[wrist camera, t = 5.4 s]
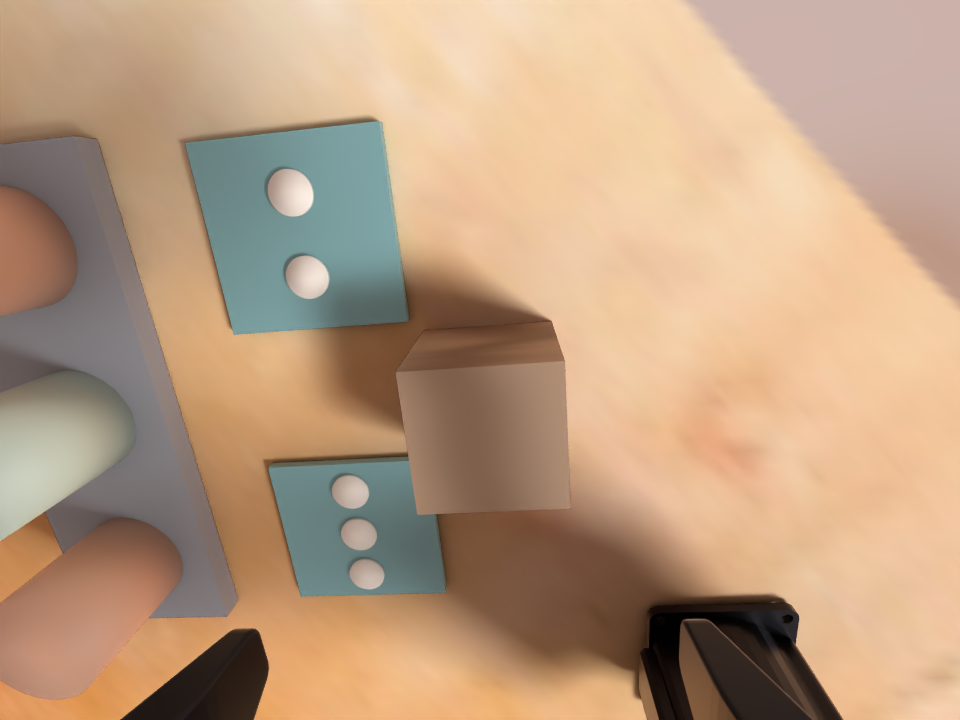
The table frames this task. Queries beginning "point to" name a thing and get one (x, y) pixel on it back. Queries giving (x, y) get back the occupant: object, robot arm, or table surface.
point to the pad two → (302, 227)
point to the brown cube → (486, 419)
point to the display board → (119, 360)
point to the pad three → (357, 528)
